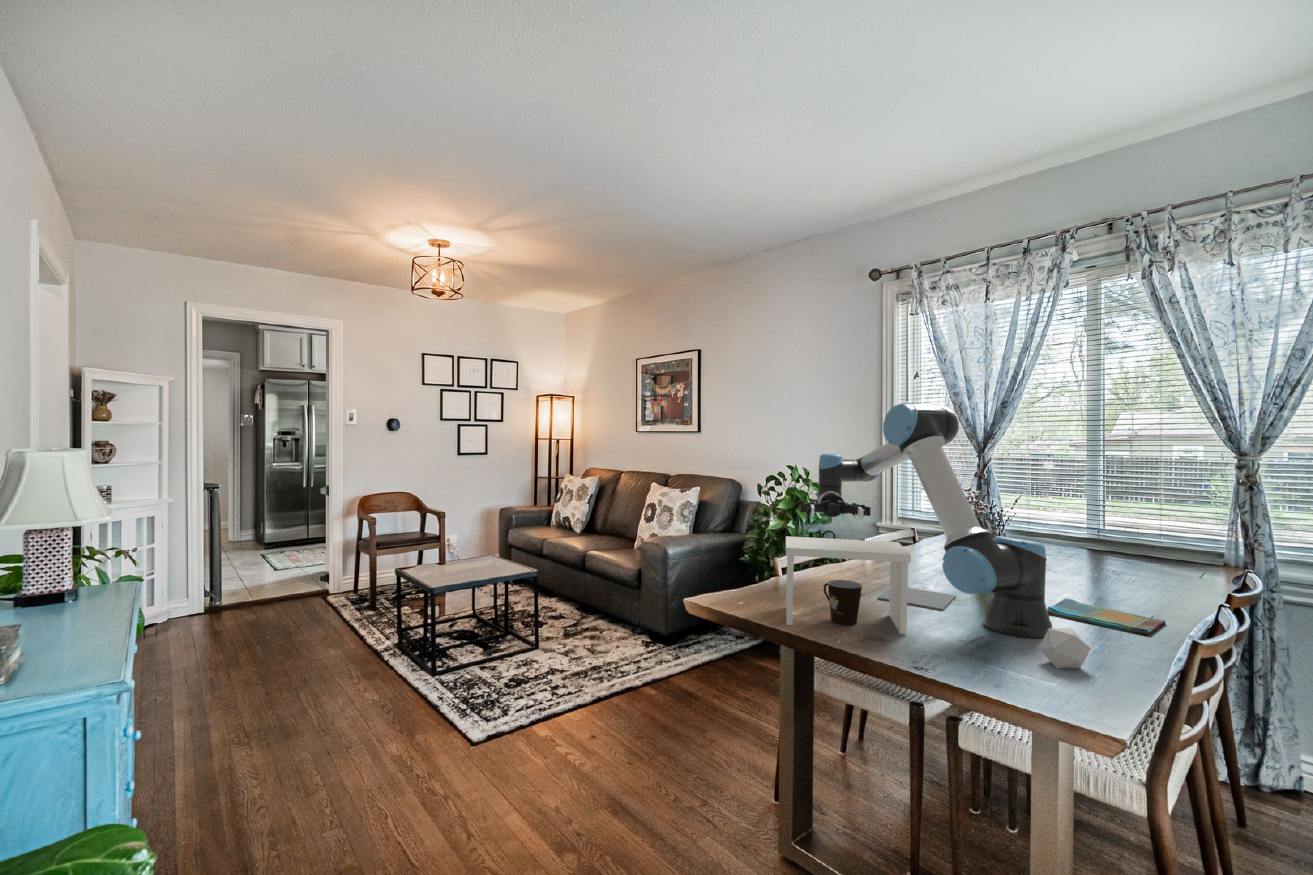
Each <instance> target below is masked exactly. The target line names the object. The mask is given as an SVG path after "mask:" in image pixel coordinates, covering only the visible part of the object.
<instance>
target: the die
mask: <svg viewBox="0 0 1313 875" xmlns="http://www.w3.org/2000/svg"><path fill="white" fill-rule="evenodd" d="M1038 649H1039V651H1040V652H1041V653H1042V654H1043V655H1044V657H1046V658H1047V659H1048V661H1050V663H1051V664H1052V665H1053V666H1054V668H1056V669H1064V670H1065V669H1072V670H1073V669H1074V670H1076V669H1077V670H1080V669H1081V668H1082V666H1083V664H1084V663H1085V661H1086V659H1087V657H1088V656H1089V654H1090V651H1091V649H1092V648H1091V647H1090V645H1088V644H1087V643H1086V641H1084V640H1083V638H1082V637H1080V635H1078V634H1077V633H1076V631H1074V629H1072V628H1057V627H1056V628H1054V627H1052V628H1049V629H1048V631H1047V633H1046V635H1045V637H1044V638H1043V639H1042V641H1040V644H1039V646H1038Z"/></svg>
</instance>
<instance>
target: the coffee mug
mask: <svg viewBox="0 0 1313 875" xmlns="http://www.w3.org/2000/svg"><path fill="white" fill-rule="evenodd" d="M827 588H828V592H827ZM862 589H863V585H862V583H860V582H856V581H853V580H849V579H848V580H847V579H846V580H845V579H834V580H833V579H832V580H829V581H827V582H826V583H824V584H823V593H824V595H825V597H826V599H827V600H828V602H829V609H830V610H829V611H830V620H831V623H833V624H836V625H839V626H845V627H850V626H851V627H852V626H856V625H857V624H858V616H859V611H860V610H859V609H860V604H861V603H860V602H861V597H862V596H861V595H862Z"/></svg>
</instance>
